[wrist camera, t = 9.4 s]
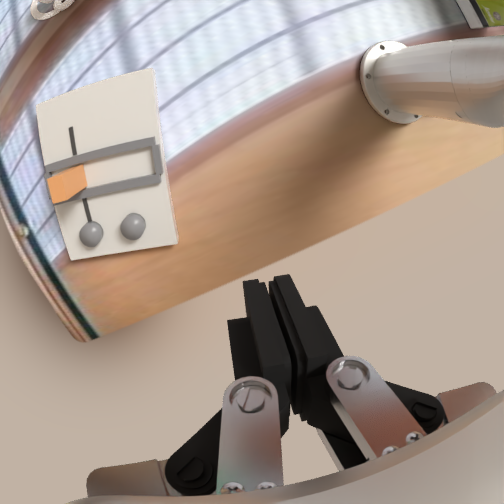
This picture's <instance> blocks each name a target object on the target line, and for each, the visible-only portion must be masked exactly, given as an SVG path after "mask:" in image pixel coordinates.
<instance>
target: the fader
mask: <svg viewBox="0 0 504 504" xmlns="http://www.w3.org/2000/svg"><path fill="white" fill-rule="evenodd" d="M47 181H48V186H49V190H50V194H51V198H52V202H53V204H54V203H58V202H62V201H65V200H68V199H69V198H71V197H72V196H74V195H75V194H76V193H78V192H79V191H81V190H82V189H84V188H85V187H87V186H88V185H87V181H86V176H85V171H84V166H83V164H82V165H78V166H75V167H71V168H69V169H67V170H64V171H62V172H60V173H58V174H56V175H54V176H52V177H50V178H48V179H47Z"/></svg>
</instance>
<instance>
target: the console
mask: <svg viewBox="0 0 504 504" xmlns="http://www.w3.org/2000/svg"><path fill="white" fill-rule="evenodd" d="M36 111H37V120H38V128H39V135H40V142H41V148H42V154H43V160H44V165H45V170H46V173H45V174H44V177H45V182H46V186H47V190H48V195H49V199H52V198H51V194H50V190H49V186H48V181H47V179H48V178H50V177H52V176H54V175H56V174H58V173H60V172H62V171H64V170H67V169H69V168H71V167H75V166H78V165H82V164H83V166H84V171H85V176H86V181H87V185H88V186H87V187H85V188H84V189H82V190H81V191H79V192H78V193H76V194H75V195H74V196H72V197H71V198H69V199H68V200H65V201H62V202H58V203H54V208H55V211H56V215H57V218H58V222H59V225H60V229H61V232H62V235H63V238H64V241H65V244H66V247H67V250H68V253H69V256H70V259H71V260H77V259H83V258H89V257H96V256H102V255H108V254H114V253H121V252H127V251H134V250H140V249H147V248H153V247H160V246H167V245H174V244H178V240H179V235H178V230H177V225H176V219H175V214H174V208H173V203H172V197H171V191H170V185H169V179H168V173H167V167H166V160H165V153H164V146H163V139H162V131H161V123H160V115H159V106H158V97H157V87H156V76H155V70H154V69H153V68H149V69H144V70H140V71H135V72H131V73H127V74H123V75H120V76H116V77H112V78H109V79H105V80H102V81H99V82H96V83H93V84H89V85H86V86H83V87H81V88H78V89H75V90H72V91H69V92H67V93H64V94H62V95H59V96H56V97H54V98H52V99H49V100H47V101H44V102H42V103H40V104H38V105H36Z"/></svg>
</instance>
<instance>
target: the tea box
mask: <svg viewBox="0 0 504 504" xmlns="http://www.w3.org/2000/svg"><path fill="white" fill-rule="evenodd" d="M456 1H457V3H458V5H459V7H460V9H461V10H462V12H463V14H464V16H465V18H466V20H467V22H468V24H469V26H470V28H471V29H475V28H485V27H496V26H504V0H456Z"/></svg>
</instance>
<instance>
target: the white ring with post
mask: <svg viewBox="0 0 504 504" xmlns="http://www.w3.org/2000/svg"><path fill="white" fill-rule="evenodd" d="M38 1H39V2H42V3H52V2H54V5H53V6H54V9H55V10H53V11H51V12H48V13H41V12H39V11H38V9H37V3H38ZM62 1H63V0H33V1H32V4H31V14H32V16H33V17H34V18H35V19H37V20H45V19H48V18H50V17H52V16H54V15H56V14H57V13H59V12H60V11H62V10H65V9H66V8H68V7H69V6H70V5H71V4H72V3H73V2H74V1H75V0H65V1H64V2H63V3H62Z"/></svg>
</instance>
